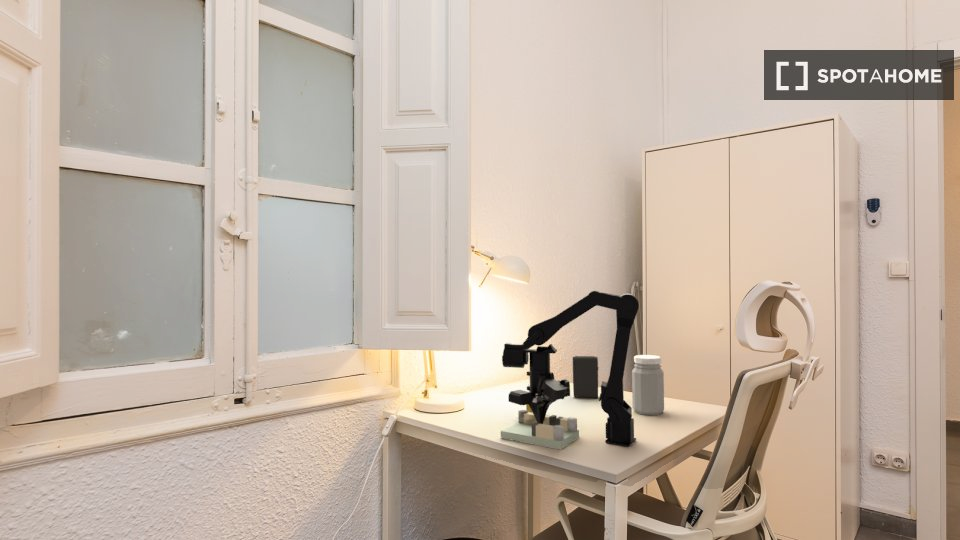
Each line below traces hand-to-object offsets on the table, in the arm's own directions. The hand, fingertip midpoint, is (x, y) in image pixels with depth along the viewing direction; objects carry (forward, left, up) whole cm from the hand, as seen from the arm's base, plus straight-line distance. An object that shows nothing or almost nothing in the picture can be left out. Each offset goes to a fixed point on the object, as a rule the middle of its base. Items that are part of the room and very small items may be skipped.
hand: (540, 424), depth 140 cm
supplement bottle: (+11, -18, -3) cm, 22 cm away
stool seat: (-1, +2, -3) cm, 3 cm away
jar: (-19, -40, -3) cm, 45 cm away
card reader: (+6, -49, -3) cm, 50 cm away
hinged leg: (+3, -3, -1) cm, 4 cm away
